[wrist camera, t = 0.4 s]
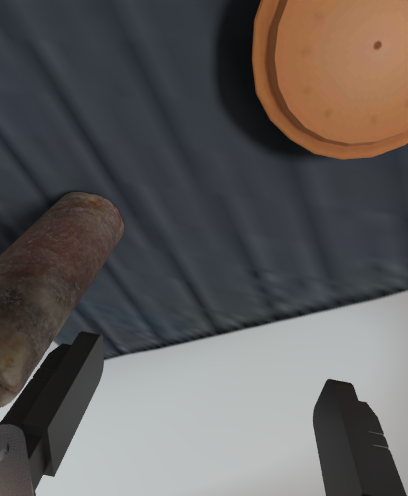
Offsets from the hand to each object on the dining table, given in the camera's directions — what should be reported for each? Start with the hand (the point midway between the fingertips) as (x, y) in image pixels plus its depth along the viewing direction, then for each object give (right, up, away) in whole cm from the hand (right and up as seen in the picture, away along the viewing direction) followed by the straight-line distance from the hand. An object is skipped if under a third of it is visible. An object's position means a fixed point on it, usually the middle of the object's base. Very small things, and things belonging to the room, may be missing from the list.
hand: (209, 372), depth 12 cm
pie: (+11, +20, +13) cm, 26 cm away
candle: (-12, +8, +25) cm, 29 cm away
